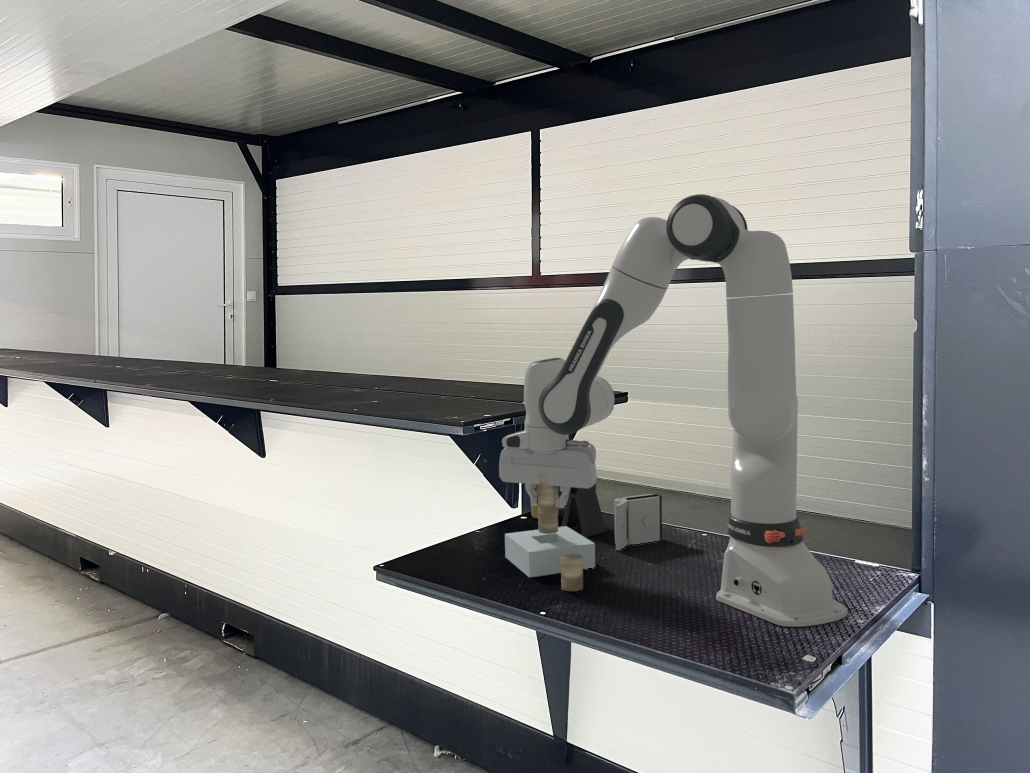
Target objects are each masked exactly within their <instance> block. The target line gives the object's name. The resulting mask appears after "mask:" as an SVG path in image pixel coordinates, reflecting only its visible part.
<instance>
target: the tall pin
mask: <svg viewBox="0 0 1030 773" xmlns="http://www.w3.org/2000/svg"><path fill="white" fill-rule="evenodd" d="M558 497H559V493H558V494H557V486H551V485H549V484H548V475H542V474H540V483H539V484H538V519H537V525H538V527H537V530H538V531H539V532H540V533H544V534H552V533H556V532H558V527H559V508H556V507H555V504H556V503H555V499H557V498H558Z"/></svg>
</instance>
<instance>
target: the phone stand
mask: <svg viewBox="0 0 1030 773" xmlns="http://www.w3.org/2000/svg"><path fill="white" fill-rule="evenodd" d="M561 521H562V522H561V525H560V527H563V526H567V527H569V528H570V529H572V530H574V531H575V532H577V533H578V534H580V535H582V536H583V537H585V538H587V539H588V538H590V537H591V538H592V537H594V535H595V536H597V535H601V534H604V533H603V532H605V533H606V532H607V529H606V525H605V520H604V517H603V513H602V510H601V506H600V502H599V498H598V495H597V482H596V483H595V484H594V485H593V486H592V487H590V488H575V487H570V491H569V493H568V497H567V502H566V504H565V510H564V514H563V517H562V520H561Z"/></svg>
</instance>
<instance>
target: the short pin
mask: <svg viewBox="0 0 1030 773" xmlns="http://www.w3.org/2000/svg"><path fill="white" fill-rule="evenodd" d="M560 576H561V578H560V582H561V585H560V587H561V588H560V589H561V591H562V590H565V591H573V592H574V591H579V590H582V589H583V590H584V570H583V557H582V556H581V555H578V554H566V555H563V556H561V573H560ZM583 590H582V591H583Z"/></svg>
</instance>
